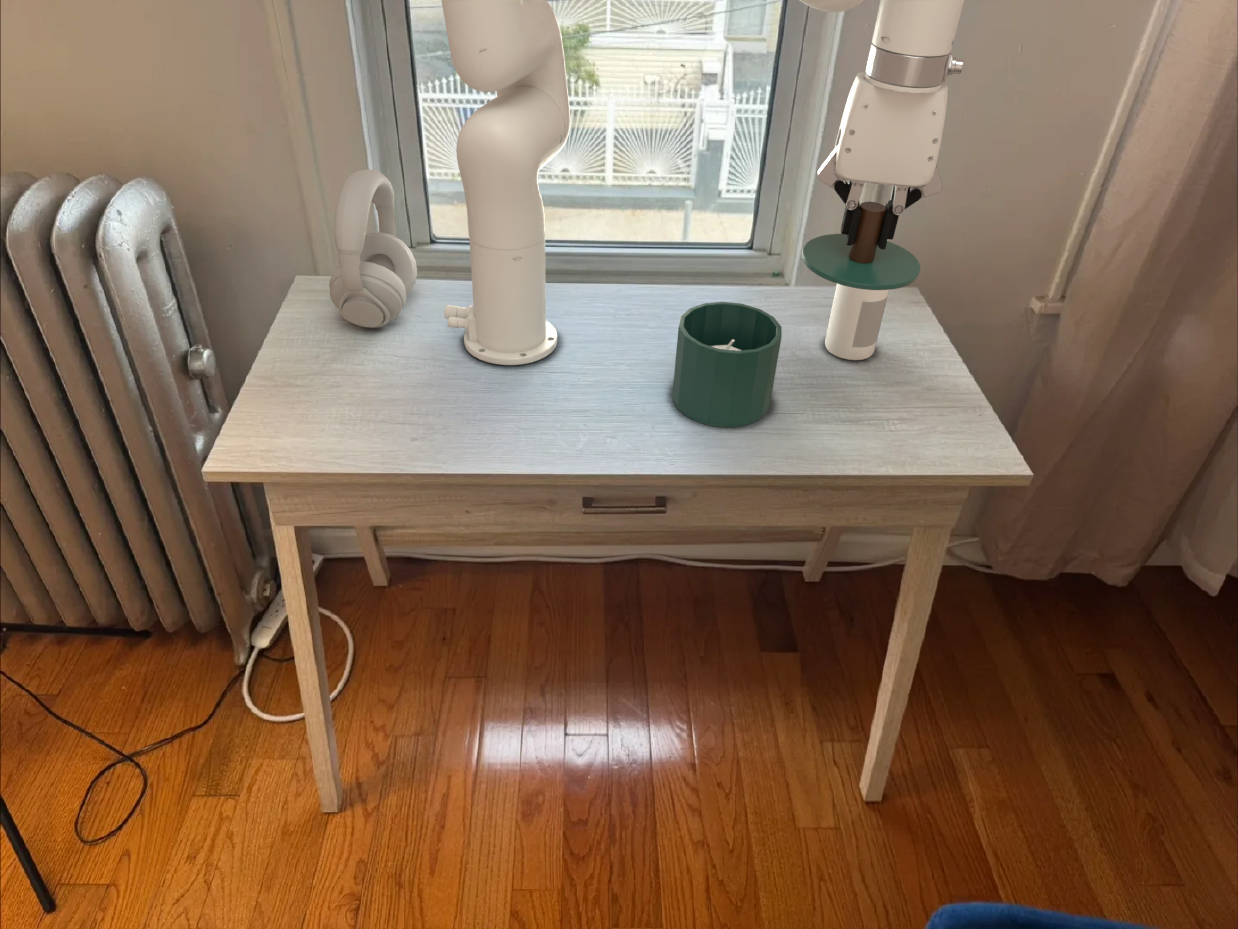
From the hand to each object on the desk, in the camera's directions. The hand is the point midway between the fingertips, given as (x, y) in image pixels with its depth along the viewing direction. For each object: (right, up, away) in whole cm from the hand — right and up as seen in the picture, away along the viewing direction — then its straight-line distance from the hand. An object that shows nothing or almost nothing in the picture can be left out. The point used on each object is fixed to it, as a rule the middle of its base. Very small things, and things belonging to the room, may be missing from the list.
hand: (864, 240), depth 101 cm
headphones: (-61, -3, +29) cm, 68 cm away
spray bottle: (+5, -9, +27) cm, 28 cm away
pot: (-14, -16, +15) cm, 26 cm away
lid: (0, -2, +2) cm, 3 cm away
